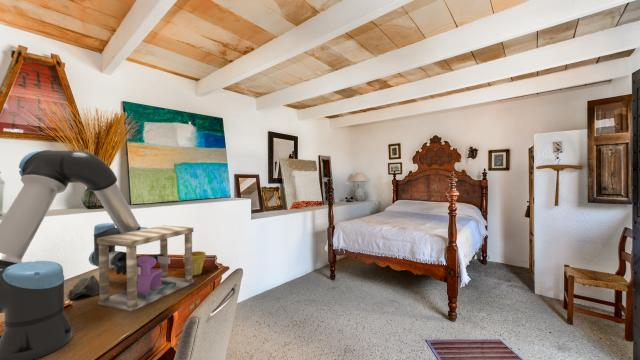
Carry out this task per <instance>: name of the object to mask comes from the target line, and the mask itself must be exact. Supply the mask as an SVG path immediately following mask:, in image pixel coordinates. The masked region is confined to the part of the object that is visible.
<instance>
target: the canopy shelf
mask: <svg viewBox="0 0 640 360" xmlns="http://www.w3.org/2000/svg"><path fill="white" fill-rule="evenodd" d="M147 228H148V229H142V230H137V231H132V232H127V233H121V234H116V235H111V236H106V237H100V238H97V244H99V267H98V277H99V279H98V281H99V292H100V294H99V300H98V301H97V304H98V305H99V306H100V305H101V306H106V307H110V308H114V309H118V310H122V311H127V312H133V311H135V310H138V309H139V308H141V307H145V306H146V305H148V304H151V303H153V302H155V301H157V300H159V299H161V298H163V297H166V296H167V295H170V294H172V293H174V292H176V291H178V290H180V289H183V288H185V287H188V286H189V285H191V284H193V283H195V280H194V279H193V275H192V252H193V233H194V227H193V226H192V227H191V226H188V227H187V226H177V225H159V226H154V227H147ZM183 235H184V254H185V263H184V278H183V277H175V276H169V268H168V267H169V264H165V263H159V265H160V266H159V267H160V268H159V269H162V275H161V283H162V286H149V288H150V293H149V294H141V293H137V287H138V282H137V267H138V265H137V257H136V256H137V247H138V246H141V245H146V244H149V243H154V242H159V249H160V250H159V252H160V253H159V254H163V257H169V255H168V253H169V251H168V239H170V238H173V237H178V236H183ZM109 245H115V247H126V250H125V252H126V258H127V272H126V289H124V290H122V291H121V292H118V293H115V294H113V295H111V296H110V268H109Z"/></svg>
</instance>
